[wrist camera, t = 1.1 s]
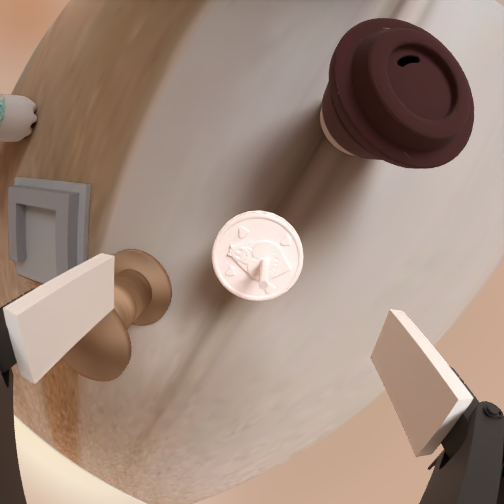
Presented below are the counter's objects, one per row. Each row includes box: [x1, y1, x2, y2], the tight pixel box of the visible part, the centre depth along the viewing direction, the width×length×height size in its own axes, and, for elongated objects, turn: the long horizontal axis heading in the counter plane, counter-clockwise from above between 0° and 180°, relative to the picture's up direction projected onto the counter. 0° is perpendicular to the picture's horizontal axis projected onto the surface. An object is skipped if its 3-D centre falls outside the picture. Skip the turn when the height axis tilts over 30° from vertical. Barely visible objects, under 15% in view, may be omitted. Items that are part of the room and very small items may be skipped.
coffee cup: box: [320, 18, 474, 168], centre depth 18 cm, size 10×10×15 cm
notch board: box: [8, 177, 92, 284], centre depth 29 cm, size 14×14×3 cm
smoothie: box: [212, 210, 303, 301], centre depth 22 cm, size 6×6×14 cm
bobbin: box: [61, 249, 172, 381], centre depth 26 cm, size 9×9×12 cm
